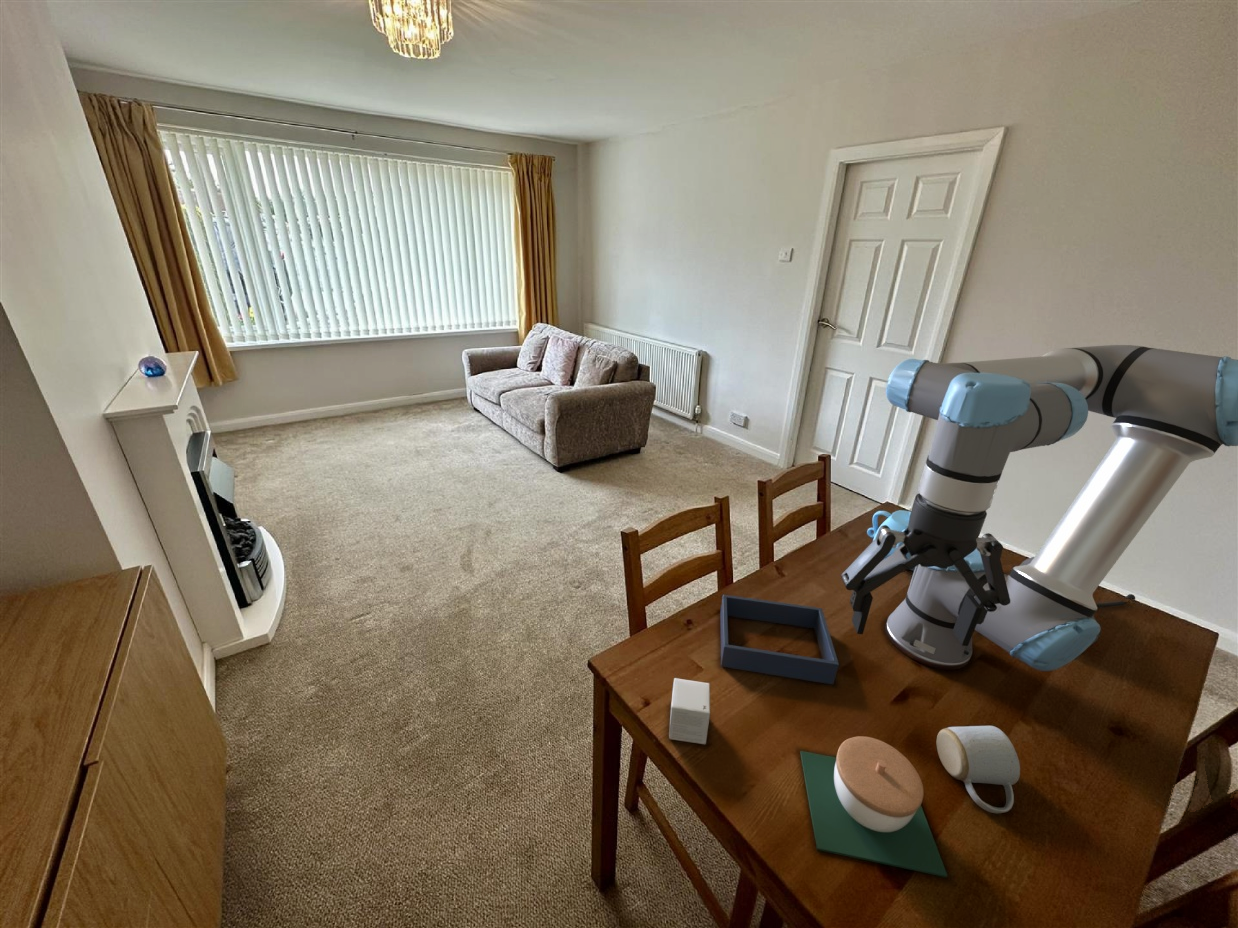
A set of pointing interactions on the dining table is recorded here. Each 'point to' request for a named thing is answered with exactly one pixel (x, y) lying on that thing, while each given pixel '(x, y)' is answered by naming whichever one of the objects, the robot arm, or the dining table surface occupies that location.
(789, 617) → the storage box
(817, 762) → the mat
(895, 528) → the decorative pot
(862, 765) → the trinket box
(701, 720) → the product box
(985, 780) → the ceramic mug
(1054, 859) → the dining table surface
